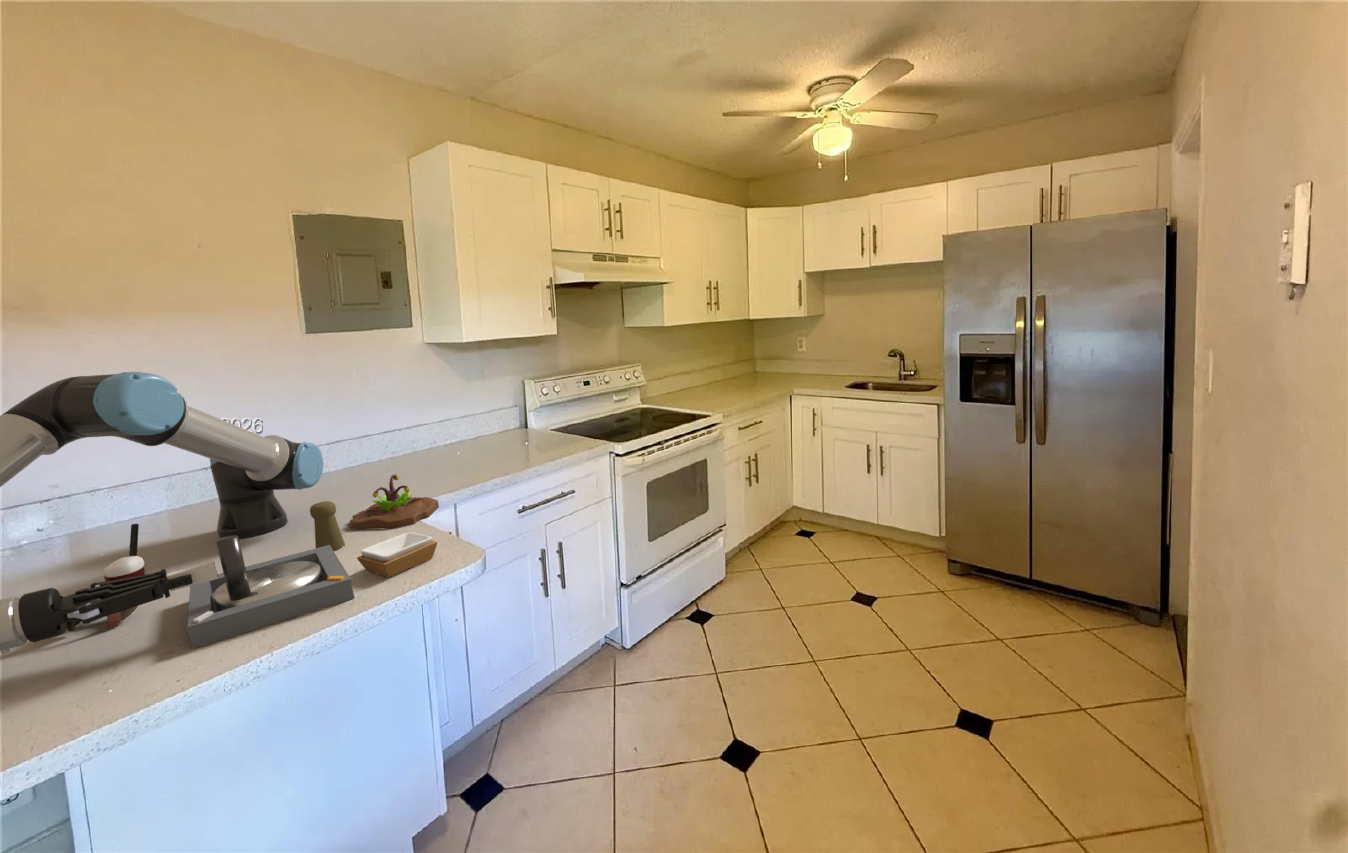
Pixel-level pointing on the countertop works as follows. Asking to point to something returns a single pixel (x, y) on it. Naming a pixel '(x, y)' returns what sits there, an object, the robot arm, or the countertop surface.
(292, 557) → the tray
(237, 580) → the dial
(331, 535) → the cork
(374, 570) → the soap dish
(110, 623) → the brown split ring clamp
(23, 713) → the countertop surface
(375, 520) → the plant
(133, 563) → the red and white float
